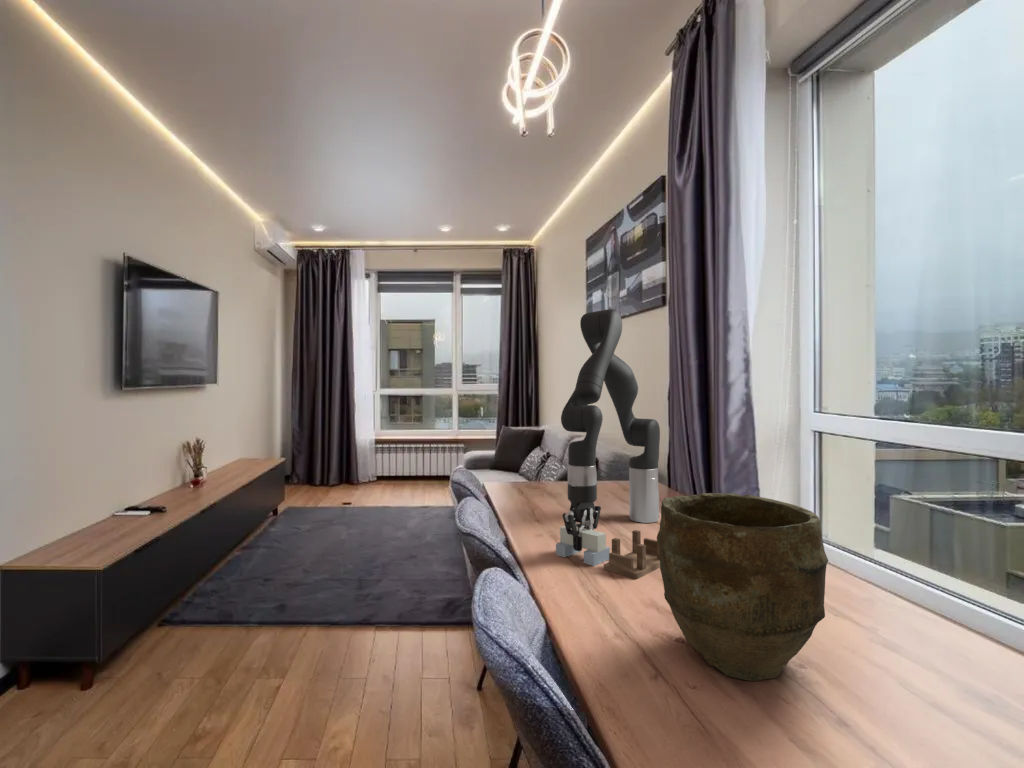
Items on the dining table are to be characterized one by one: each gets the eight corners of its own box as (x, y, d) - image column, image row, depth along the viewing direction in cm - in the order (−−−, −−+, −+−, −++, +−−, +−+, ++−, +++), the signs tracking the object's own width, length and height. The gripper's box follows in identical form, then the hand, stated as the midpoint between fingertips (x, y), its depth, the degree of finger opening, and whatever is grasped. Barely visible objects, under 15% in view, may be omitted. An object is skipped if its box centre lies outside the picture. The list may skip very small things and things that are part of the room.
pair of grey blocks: (572, 548, 139) (572, 537, 139) (609, 559, 131) (609, 547, 131) (556, 555, 134) (555, 543, 134) (593, 566, 126) (593, 554, 126)
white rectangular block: (568, 539, 138) (568, 524, 138) (605, 549, 129) (605, 533, 129) (560, 542, 135) (560, 527, 135) (597, 552, 127) (597, 536, 127)
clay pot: (802, 630, 92) (802, 492, 92) (856, 719, 68) (854, 531, 68) (656, 614, 99) (656, 485, 99) (657, 689, 75) (656, 519, 75)
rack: (640, 552, 136) (640, 527, 136) (672, 560, 129) (672, 534, 129) (603, 569, 123) (603, 541, 123) (636, 579, 117) (636, 549, 117)
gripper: (586, 476, 140) (587, 539, 140) (553, 484, 130) (553, 551, 130) (609, 480, 135) (610, 545, 135) (577, 488, 125) (577, 558, 125)
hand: (582, 548), depth 132 cm, fingers closed on white rectangular block, 3 cm apart
